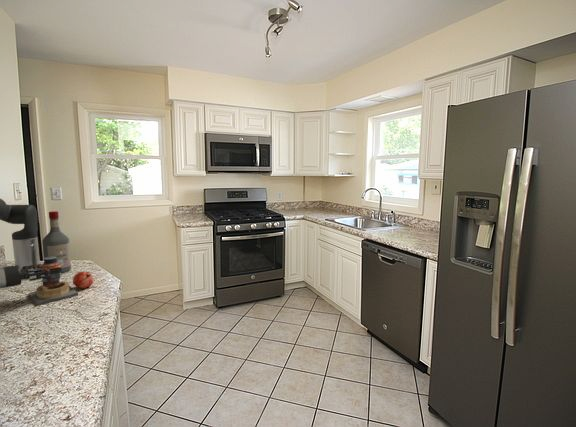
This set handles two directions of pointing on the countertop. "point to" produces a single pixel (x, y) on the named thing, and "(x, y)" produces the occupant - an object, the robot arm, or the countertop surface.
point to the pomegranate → (83, 280)
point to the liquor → (57, 244)
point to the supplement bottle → (53, 278)
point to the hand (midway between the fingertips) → (58, 267)
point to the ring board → (52, 293)
